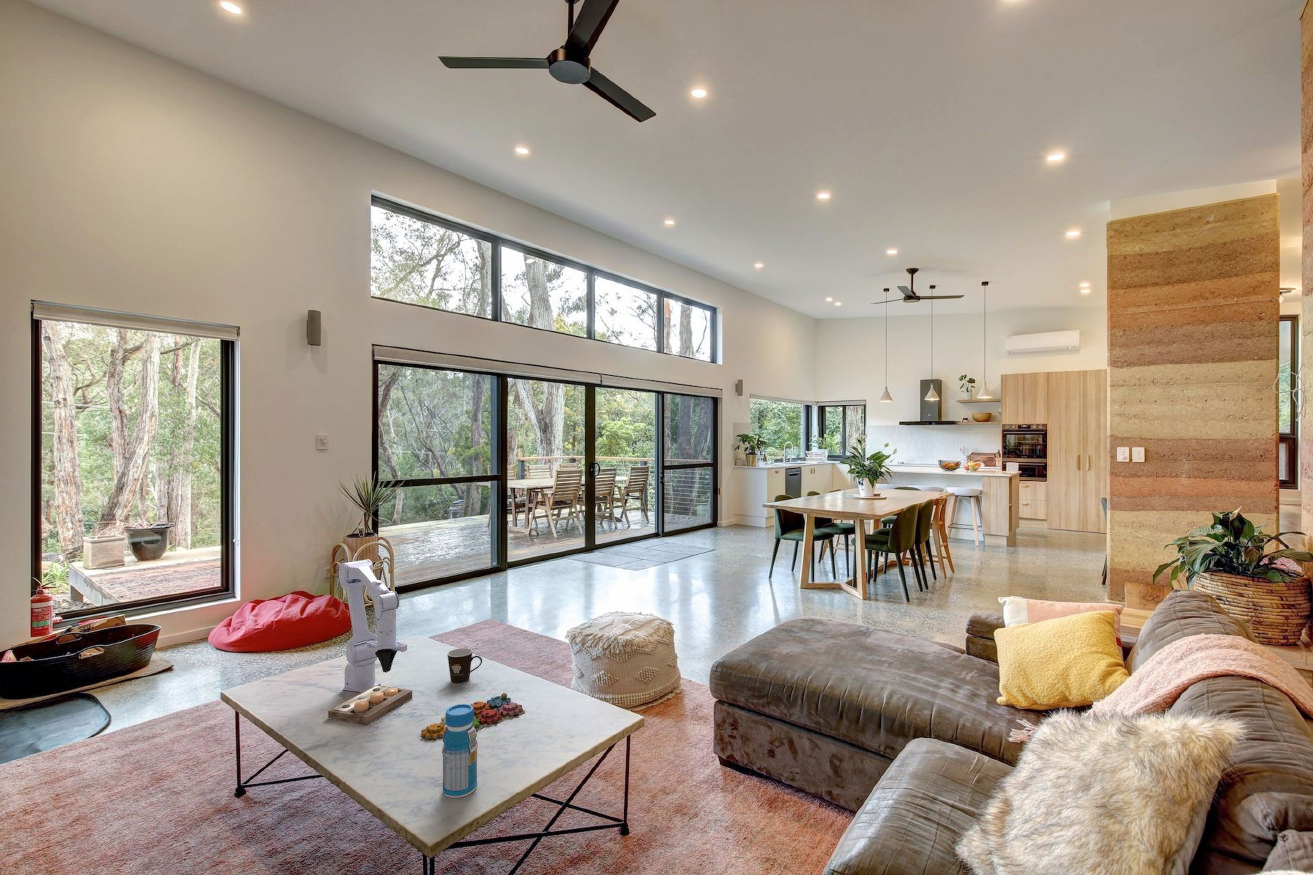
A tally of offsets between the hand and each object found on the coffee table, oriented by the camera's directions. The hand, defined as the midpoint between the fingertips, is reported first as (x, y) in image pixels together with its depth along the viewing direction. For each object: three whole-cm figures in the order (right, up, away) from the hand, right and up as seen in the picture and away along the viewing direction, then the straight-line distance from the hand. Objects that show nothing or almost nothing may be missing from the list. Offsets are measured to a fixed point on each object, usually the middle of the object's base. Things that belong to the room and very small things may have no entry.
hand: (386, 671), depth 197 cm
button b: (-1, -8, -4) cm, 9 cm away
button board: (-3, -11, -4) cm, 12 cm away
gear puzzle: (+31, -11, -12) cm, 35 cm away
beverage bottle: (+40, -11, -48) cm, 64 cm away
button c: (+1, -9, +2) cm, 10 cm away
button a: (-3, -8, -10) cm, 14 cm away
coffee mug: (+19, -11, +18) cm, 28 cm away
